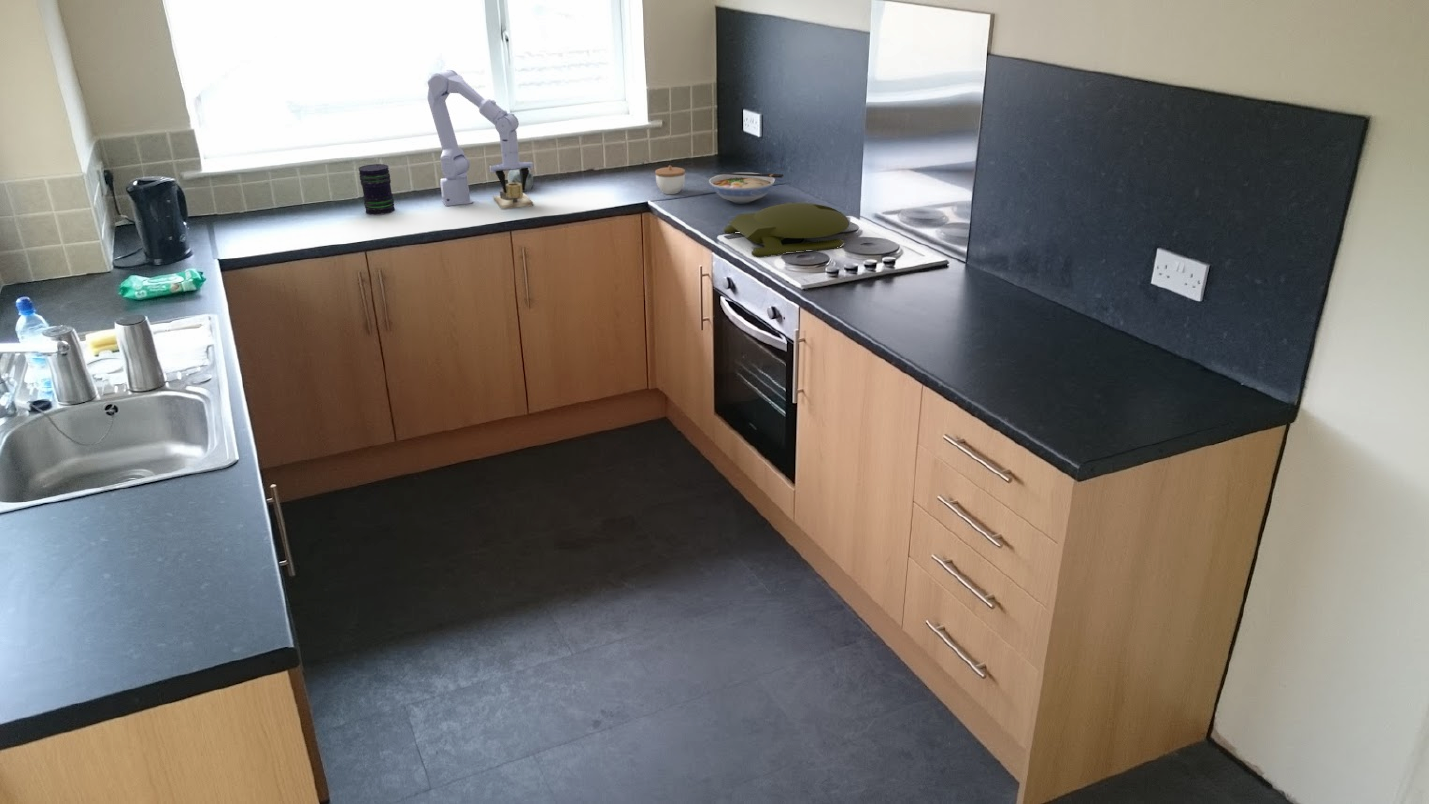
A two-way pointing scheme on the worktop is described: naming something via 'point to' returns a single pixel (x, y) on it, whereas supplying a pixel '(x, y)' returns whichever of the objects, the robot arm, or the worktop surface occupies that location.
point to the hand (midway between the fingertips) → (514, 191)
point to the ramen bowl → (742, 186)
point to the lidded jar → (670, 179)
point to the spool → (515, 178)
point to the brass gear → (514, 190)
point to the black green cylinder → (376, 189)
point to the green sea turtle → (790, 227)
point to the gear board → (511, 201)
